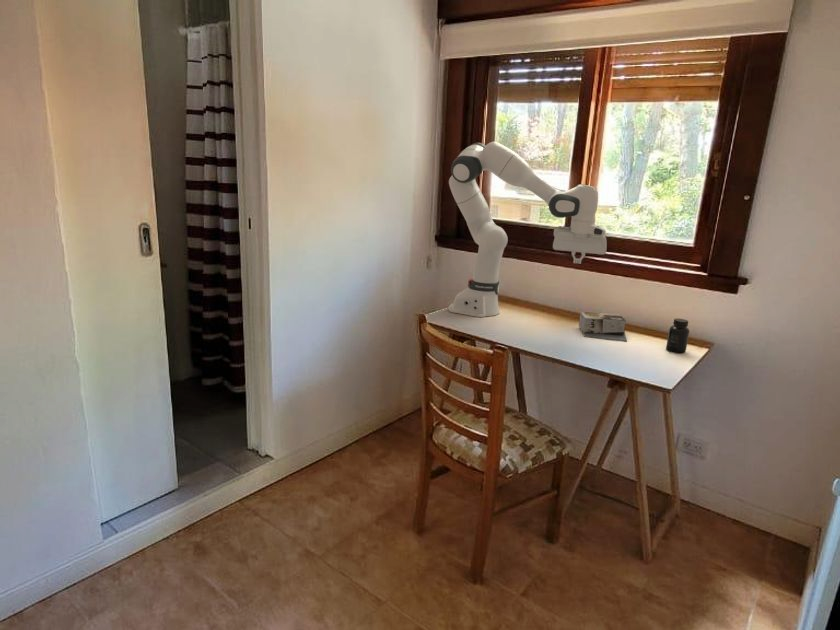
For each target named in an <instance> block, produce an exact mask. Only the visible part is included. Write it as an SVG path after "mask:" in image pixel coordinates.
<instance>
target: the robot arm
mask: <svg viewBox="0 0 840 630" xmlns="http://www.w3.org/2000/svg"><path fill="white" fill-rule="evenodd" d="M484 171H487V172H491V173H492V174H493V175H494V176H496V177H498V179H500V180H502V181H503V182H505V183H507V184H509V185H511V186H514V187H518V188H523V189H526V190H528V191H530V192H531V193H533V194H534V195H536V196H537V197H538V198H539V199H541V200H543V201H544V202H545V203H546V205H547V206H548V209H549V212H550V214H551V215H552V216H553V217H556V218H559V219H564V218H571V221H570V226H562V225H559V226H556V227H555V228H554V230H553V237H554V239H553V242H552V249H553V250H555V251H562V252H565V251H566V252H571V256H572V258H573V264H579V265H580V264H582V260H583V259H584V258H585V256H586V254H596V255H605V254H606V253H607V249H608V248H607V247H608V246H607V245H608V243H607V237H606V236H605V235H606V233H607V230H606V228H604V227H601V226H600V225H596V213H597V210H598V205H599V191H598V189H597V188H596V187H594V186H591V185H587V184H580V183H579V184H577V185H576V186H575V187H573V188H570V189H567V190H566V189H565V190H564V189H558V188H556V187H555V186H553V185H551V184H549V183H548V182H546V180H544V179H542V178H541V177H540V176H539V175H538V174H537V173H536V172H535V171H534V169H533V168H532V167H531V166H530V164H529V163H528V162H527V161H526V160H525V159H524V158H523V157H521V156H520V155H519V154H518V153H517V152H515V151H513V150H512V149H510V148H509V147H507V146H505V145H503V144H502V143H499V142H496V141H491V142H490V141H489V143H487V144H484V143H482V142H475V143H471V144H469V145H468V146H467V147H465V149H462V151H461V152H460V153H459V155H458V156H457V157H456V158H454V160H453V162H452V163H451V167H450V173H451V176H450V177H449V179H448V185H449V189H450V191H451V194H452V196H453V198H454V201H455V203H456V206H458V208H459V211H460V212H461V214H462V216H463V217H464V220H465V221H466V225H467V227H468V228H467V229H468V230H469V232H470V235H471V237H472V239H473V241H474V243H475V244H476V245H478V251H477V254H476V258H475V260H474V261H473V275H472V277H470V278H469V279H468V282H467V287H466V288H464V290H461V291H460V292H459V293H457V294H456V295H455V298H454V301H453V302H452V303H451V304H449V305H448V311H449V312H451V313H455V314H459V315H466V316H471V317H477V318H485V317H491V316H497V315H499V314H500V308H499V299H498V297H499V296H498V295H499V292H500V281H499V277H500V266H501V263H502V262H501V261H502V257H503V254H504V251H505V248H506V247H507V245H508V239H509V238H508V235H507V233H506V231H505V229H504V228H502V226H499V225H497V224H496V223H495V222H494V220H493V217H492V215H491V211H490V208H489V204H488V202H487V200H486V199H485V197H484V195H483V193H482V191H481V189H480V187H479V185H478V183H477V181H476V179H477V177H479V176H481V174H482V173H483V172H484ZM576 253H581V256H580V257H579V258H577V257H576V256H575V255H576Z"/></svg>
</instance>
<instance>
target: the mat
mask: <svg viewBox="0 0 840 630" xmlns="http://www.w3.org/2000/svg"><path fill="white" fill-rule="evenodd" d="M583 338H592V339H598V340H599V339H601V340H608V341H609V340H610V341H615V342H617V341H618V342H625V343H626V342H627V343H628V339H627V336H626V331H624V335H612V334H599V333H585V332H583Z"/></svg>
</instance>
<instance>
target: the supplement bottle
mask: <svg viewBox="0 0 840 630" xmlns="http://www.w3.org/2000/svg"><path fill="white" fill-rule="evenodd" d="M672 324H673V325H671V326H670V327H669V328H668V335H667V339H666V345H665V349H666V350H667V351H668V352H670V353H673V354H681V355H682V354H685V353H686V351H687V348H688V347H687V346H688V343H689V342H688V341H689V336H690V329H689V328H688V326H689V320H687V319H683V318H674V319H673V322H672Z"/></svg>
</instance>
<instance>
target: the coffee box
mask: <svg viewBox="0 0 840 630" xmlns="http://www.w3.org/2000/svg"><path fill="white" fill-rule="evenodd" d="M579 313H580V315H579V322H578V327H579V329H580V330H581V332H582V333H584V332H585V333H599V334H612V335H624V332H626V331H625V330H626V321H627V320H626V319H625V318H624V316H622V315H621V314H619V313H618V314H617V313H601V312H585V311H580V312H579Z"/></svg>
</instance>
